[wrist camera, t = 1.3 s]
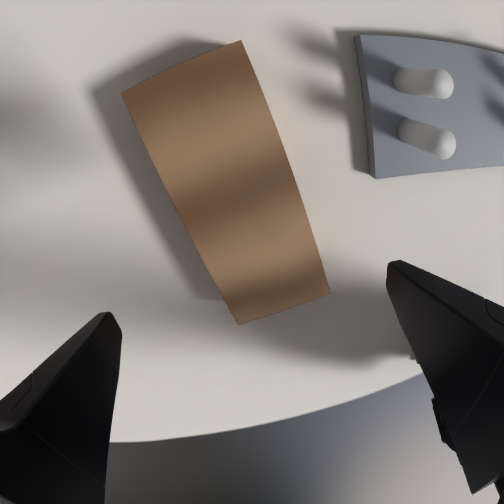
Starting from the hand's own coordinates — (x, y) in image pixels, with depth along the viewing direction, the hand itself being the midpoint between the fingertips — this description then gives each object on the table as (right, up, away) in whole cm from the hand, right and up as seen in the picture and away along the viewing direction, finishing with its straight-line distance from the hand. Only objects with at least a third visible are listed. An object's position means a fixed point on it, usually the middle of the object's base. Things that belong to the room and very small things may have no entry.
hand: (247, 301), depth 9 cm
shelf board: (-1, +6, +10) cm, 11 cm away
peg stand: (+15, +12, +7) cm, 21 cm away
